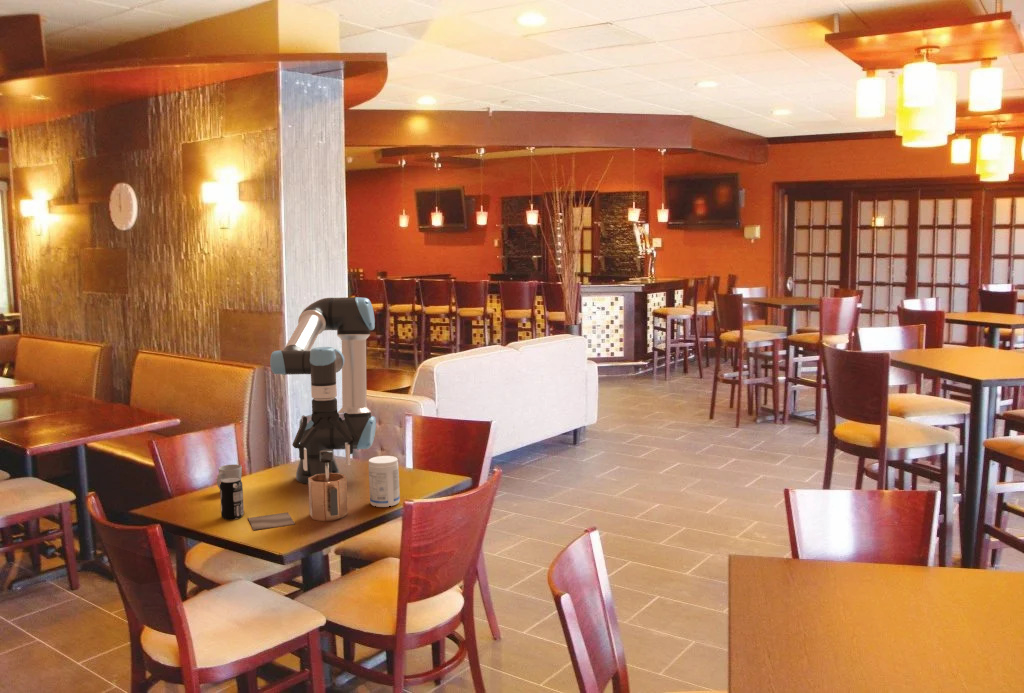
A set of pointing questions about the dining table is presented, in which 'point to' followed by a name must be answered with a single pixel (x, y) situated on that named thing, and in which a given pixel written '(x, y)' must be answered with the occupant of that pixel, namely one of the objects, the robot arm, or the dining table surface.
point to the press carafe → (328, 497)
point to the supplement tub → (384, 481)
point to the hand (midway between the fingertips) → (326, 467)
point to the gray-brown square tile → (271, 521)
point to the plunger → (326, 460)
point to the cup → (228, 472)
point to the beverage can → (231, 498)
